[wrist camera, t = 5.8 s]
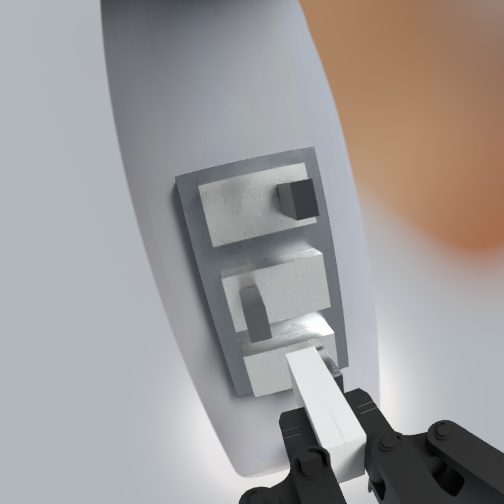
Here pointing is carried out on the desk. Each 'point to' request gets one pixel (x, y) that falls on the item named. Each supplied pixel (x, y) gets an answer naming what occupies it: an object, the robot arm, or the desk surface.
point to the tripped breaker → (255, 315)
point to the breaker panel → (257, 253)
